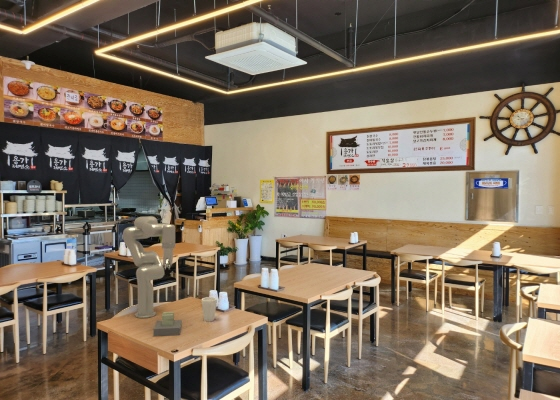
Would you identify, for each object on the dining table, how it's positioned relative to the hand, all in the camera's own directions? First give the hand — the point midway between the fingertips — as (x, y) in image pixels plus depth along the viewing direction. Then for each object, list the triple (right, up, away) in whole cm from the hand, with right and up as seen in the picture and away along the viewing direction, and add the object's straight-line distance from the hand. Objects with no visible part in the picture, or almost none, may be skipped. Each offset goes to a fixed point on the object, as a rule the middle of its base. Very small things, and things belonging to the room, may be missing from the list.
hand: (168, 274), depth 234 cm
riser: (+2, -31, -9) cm, 32 cm away
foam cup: (+22, -31, +12) cm, 39 cm away
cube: (+2, -27, -9) cm, 28 cm away
